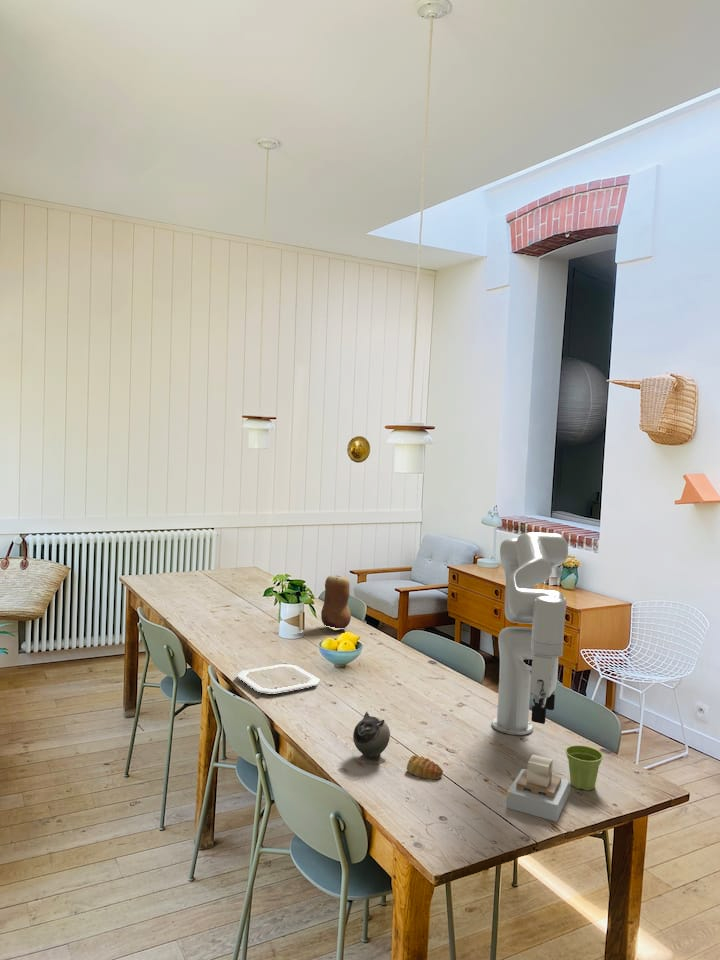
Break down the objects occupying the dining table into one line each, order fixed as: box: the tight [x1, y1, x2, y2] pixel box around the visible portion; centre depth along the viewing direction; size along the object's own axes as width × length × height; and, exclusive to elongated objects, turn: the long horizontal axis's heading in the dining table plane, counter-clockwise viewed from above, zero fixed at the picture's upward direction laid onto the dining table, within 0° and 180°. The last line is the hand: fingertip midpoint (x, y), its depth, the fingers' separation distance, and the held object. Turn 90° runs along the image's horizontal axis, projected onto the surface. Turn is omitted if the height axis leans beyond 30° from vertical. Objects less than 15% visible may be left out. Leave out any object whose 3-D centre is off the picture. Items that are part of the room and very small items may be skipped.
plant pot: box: [564, 744, 604, 791], centre depth 186 cm, size 9×9×9 cm
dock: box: [506, 768, 570, 823], centre depth 176 cm, size 14×12×4 cm
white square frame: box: [236, 663, 321, 694], centre depth 253 cm, size 25×25×2 cm
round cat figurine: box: [352, 711, 391, 765], centre depth 196 cm, size 10×12×10 cm
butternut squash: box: [320, 574, 352, 629], centre depth 324 cm, size 14×13×25 cm
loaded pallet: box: [516, 754, 562, 798], centre depth 176 cm, size 9×9×6 cm
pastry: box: [406, 754, 444, 780], centre depth 189 cm, size 9×7×4 cm
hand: (542, 715), depth 175 cm, fingers open, 9 cm apart
